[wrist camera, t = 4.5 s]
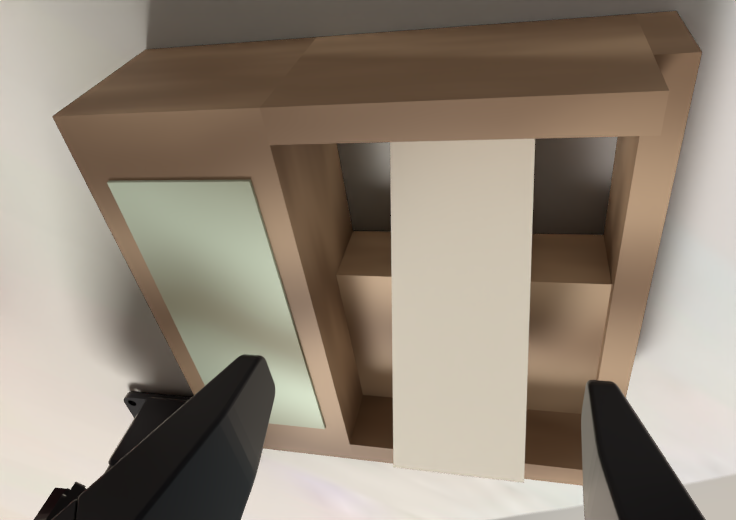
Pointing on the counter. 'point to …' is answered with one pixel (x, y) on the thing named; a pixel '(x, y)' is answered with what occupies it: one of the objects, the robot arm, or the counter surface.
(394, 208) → the cream slat
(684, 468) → the counter surface
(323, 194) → the walnut pocket board
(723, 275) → the counter surface
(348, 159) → the counter surface
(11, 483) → the counter surface
